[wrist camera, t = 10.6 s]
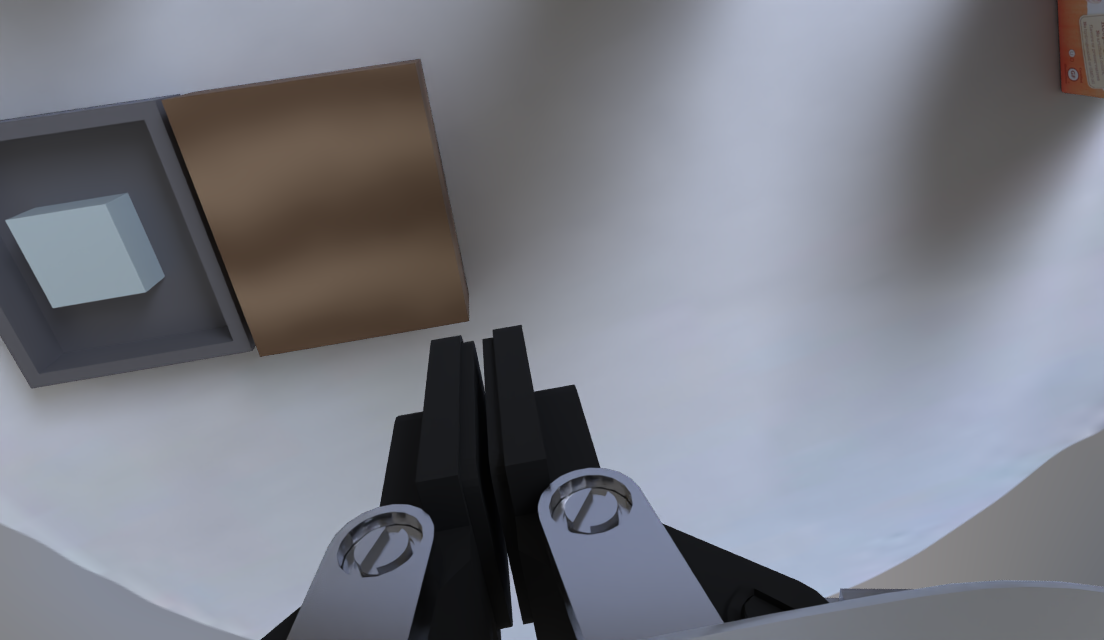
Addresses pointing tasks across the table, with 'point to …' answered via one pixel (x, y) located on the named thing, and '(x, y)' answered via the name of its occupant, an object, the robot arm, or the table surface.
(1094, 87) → the cracker box
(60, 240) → the tile
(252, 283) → the board
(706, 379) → the table surface
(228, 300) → the tray
